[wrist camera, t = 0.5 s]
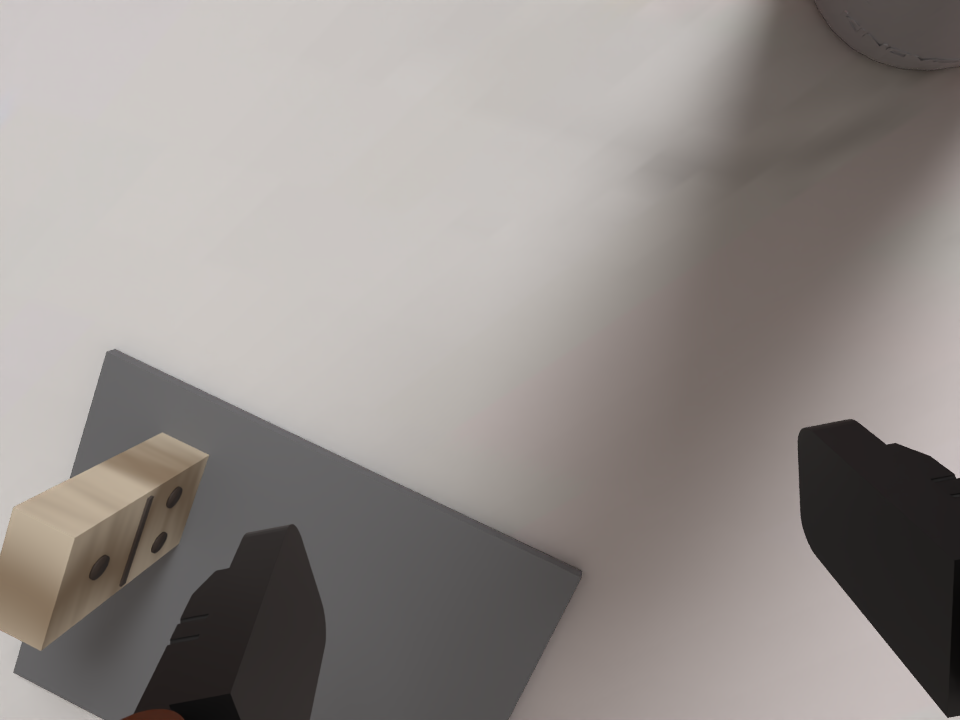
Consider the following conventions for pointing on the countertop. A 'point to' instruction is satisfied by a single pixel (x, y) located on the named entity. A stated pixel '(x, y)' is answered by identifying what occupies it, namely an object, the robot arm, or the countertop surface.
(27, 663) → the mat
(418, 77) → the countertop surface
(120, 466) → the domino
